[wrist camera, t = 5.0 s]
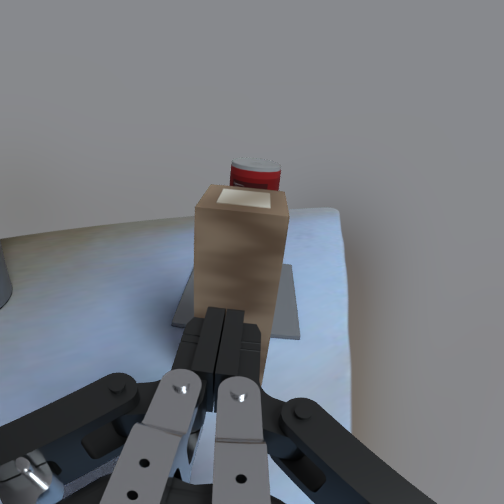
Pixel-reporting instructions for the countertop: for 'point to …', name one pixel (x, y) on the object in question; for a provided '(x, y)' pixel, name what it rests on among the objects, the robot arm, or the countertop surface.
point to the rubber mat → (283, 315)
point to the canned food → (255, 173)
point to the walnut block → (240, 254)
